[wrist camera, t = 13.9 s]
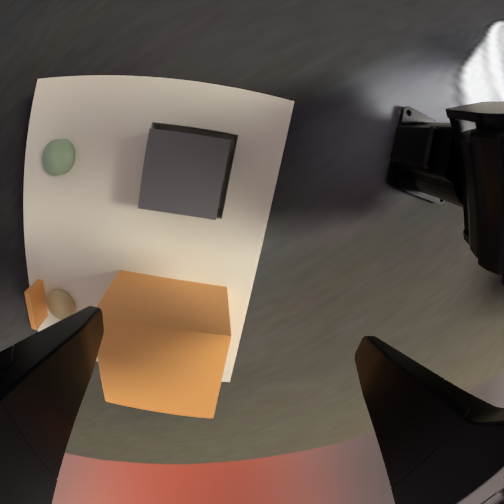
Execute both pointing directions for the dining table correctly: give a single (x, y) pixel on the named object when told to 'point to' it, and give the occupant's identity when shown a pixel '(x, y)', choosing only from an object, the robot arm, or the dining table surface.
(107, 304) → the orange square block
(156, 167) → the block
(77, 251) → the panel
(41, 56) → the dining table surface
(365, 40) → the dining table surface
